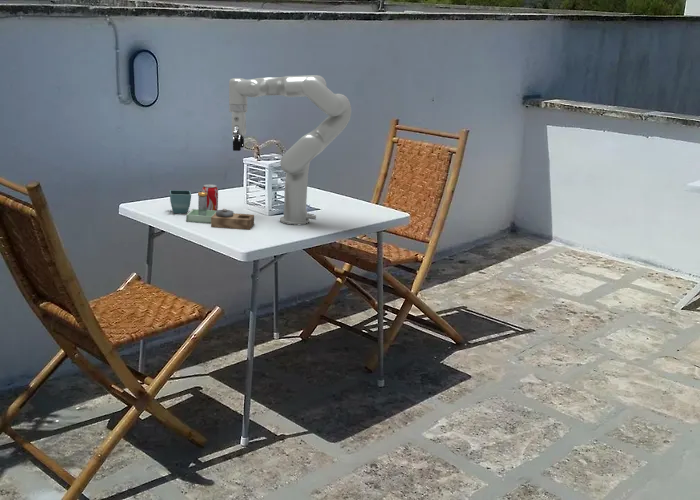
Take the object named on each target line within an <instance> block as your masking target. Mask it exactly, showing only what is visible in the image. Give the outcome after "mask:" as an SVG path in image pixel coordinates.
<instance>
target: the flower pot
mask: <svg viewBox="0 0 700 500" xmlns="http://www.w3.org/2000/svg"><path fill="white" fill-rule="evenodd" d="M191 202H192V192H191V190H177V189H175V190H174V189H171V190H169V203H170V206H171V208H172V209H171V210H172V212H173V213H174V214H186V215H187V214H188V211H189V210H190V207H191V206H190V205H191Z"/></svg>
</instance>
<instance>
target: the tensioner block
mask: <svg viewBox="0 0 700 500" xmlns="http://www.w3.org/2000/svg"><path fill="white" fill-rule="evenodd" d="M254 225H255V214H248V213H246V214H245V213H236V212H235V213H234V211H233V210H230V209H227V208H222V209H218V210H217V211H216V213H215V214H214V215H213V216H212V217H211V224H210V228H220V229H236V230H248V231H249V230H250V231H251V229H252V228H253V226H254Z"/></svg>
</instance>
